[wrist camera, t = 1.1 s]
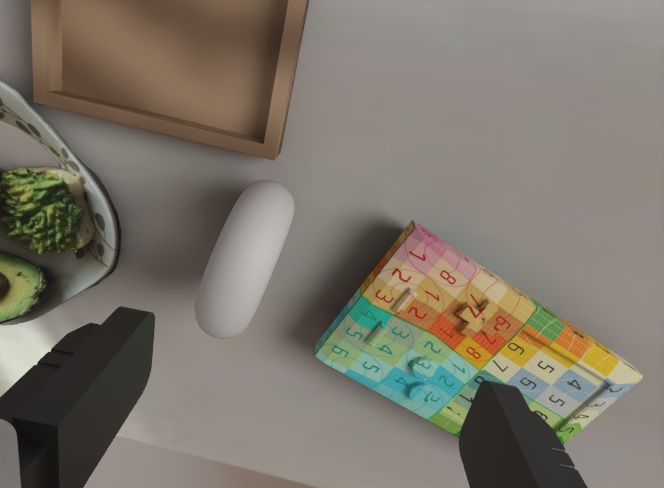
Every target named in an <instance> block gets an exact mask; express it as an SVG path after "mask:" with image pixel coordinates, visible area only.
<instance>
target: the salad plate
mask: <svg viewBox="0 0 664 488" xmlns="http://www.w3.org/2000/svg"><path fill="white" fill-rule="evenodd" d="M0 120H1V121H4V122H5V123H8V124H10V125H13V126H15V127H17V128H19V129H20V130H22V131H23V132H25V133H26V134H28V135H29V136H31V137H32V138H34V139H35V140H36V141H38V142H39V143H40V144H41V145H42V146H43V147H44V148H45V149H46V150H47V151H48V152H49V153H50V154H51V156H52V157H53V158H54V159H55V160H56V161H57V162H58V163H59V165H60V166H61V168H60V169H58V168H55V167H36V168H19V169H16V170H12V171H6V170H3V169H1V168H0V325H14V324H18V323H23V322H27V321H30V320H33V319H35V318H37V317H39V316H42V315H44V314H45V313H47V312H49V311H50V310H52V309H54V308H55V307H57V306H59V305H60V304H62V303H64V302H66V301H67V300H69V299H70V298H72V297H74V296H76V295H77V294H79V293H80V292H82V291H84V290H86V289H88V288H90V287H92V286H95V285H97V284H98V283H99V282H101V281H102V280H103V279H104V278H106V277H107V276H109V275H110V274H111V273H112V272H113V271H114V270H115V268H116V266H117V264H118V260H119V254H120V244H121V230H120V224H119V218H118V215H117V212H116V210H115V208H114V206H113V204H112V201H111V199H110V197H109V194H108V192H107V190H106V189H105V187H104V185H103V184H102V182H101V181H100V179H99V178H98V177H97V175H96V174H95V173H94V172H93V171H92V170H90V169H89V168H88V167H87V166H85V165H84V164H83V163H82V162H81V161H80V159H79V158H78V157H77V156H76V154H75V153H74V152H73V151H72V150H71V149H70V147H69V146H68V144H67V143H66V142H65V141H64V139H63V138H62V137H61V136H60V134H59V133H58V131H57V130H56V129H55V128H54V127H53V126H52V125H51V124H50V123H49V122H48V121H47V120H46V119H45V118H44V117H43V116H42V115H41V114H40V113H39V112H38V111H37V110H36V109H35V108H34V107H32V106H31V105H30V104H29V103H28V102H27V101H26V99H25V98H24V97H23V95H22V94H21V93H20V92H19V91H18V90H17V89H15V88H14V87H12V86H11V85H9V84H8V83H6V82H4V81H2V80H0ZM77 249H78V250H77ZM75 250H77V252H76V253H75Z"/></svg>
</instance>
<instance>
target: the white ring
mask: <svg viewBox="0 0 664 488" xmlns="http://www.w3.org/2000/svg"><path fill="white" fill-rule="evenodd" d="M294 211H295V208H294V200H293V198H292V195H291V193H290V192H289V191H288V190H287V188H286V187H285V186H283V185H281V184H280V183H278V182H275V181H271V180H260V181H258V182H255V183H253V184H251V185H250V186H249V187H248V188H247V189H245V190H244V191H243V192H242V194H241V195H240V197H239V198H238V200H237V202H236V203H235V205H234V207H233V209H232V211H231V213H230V215H229V216H228V218H227V220H226V222H225V225H224V227H223V229H222V231H221V233H220V235H219V237H218V240H217V242H216V245H215V247H214V249H213V252H212V254H211V256H210V259H209V262H208V264H207V267H206V269H205V272H204V275H203V278H202V281H201V284H200V287H199V290H198V293H197V297H196V301H195V317H196V320H197V322H198V325H199V327H200V328H201V329H202V330H203V331H204V332H205V333H206V334H208V335H210V336H212V337H214V338H220V339H226V338H232V337H234V336H236V335H238V334H240V333H241V332H242V331H243V330H244V329H246V328H247V326H248V324H249V323H250V321H251V319H252V318H253V316H254V314H255V311H256V309H257V307H258V305H259V303H260V300H261V298H262V296H263V294H264V291H265V289H266V287H267V284H268V282H269V279H270V277H271V275H272V272H273V270H274V267H275V265H276V262H277V260H278V257H279V255H280V252H281V250H282V247H283V245H284V242H285V239H286V237H287V234H288V231H289V229H290V226H291V223H292V219H293V215H294Z"/></svg>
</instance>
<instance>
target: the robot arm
mask: <svg viewBox="0 0 664 488" xmlns="http://www.w3.org/2000/svg"><path fill="white" fill-rule="evenodd" d="M154 327H155V316H154V313H152V312H147V311H142V310H137V309H132V308H127V307H122V306H121V307H118V308H117V309H116V310H115V311H114V312H113V313H112V314H111V315H110V316H109V317H108V318H107V319H106V320H105V321H104V322H103V323H102V325H99V324H94V323H89V324H87V325H85V326H83V327H80V328H78V329H76V330H74V331H72V332H70V333H68V334H67V335H66V336H65V337H64V338H62V339H61V340H60V341H59V342H58V343H57V344H56V345H55V346H54V347H53V348H52V349H51V352H48V353H47V354H46V355H45V356H44V357H42V358H41V359H40V360H39V361H38V364H37V365H34V366H33V367H32V368H31V369H30V370H29V371H28V372H27V373H26V374H25V375H23V376H22V377H21V378H20V379H19V380H18V381H17V382H16V383H15V384H14V385H13V386H12V387H11V388H10V389H9V390H8V391H7V392H6V393H5V394H3V395H2V396H1V397H0V488H83V487H84V485H85V484H86V482H87V481H88V479H89V477H90V476H91V474H92V472H93V471H94V469H95V468H96V466H97V465H98V463H99V461H100V460H101V458H102V457H103V455H104V454H105V452H106V450H107V448H108V447H109V445H110V444H111V442H112V441H113V439H114V438H115V436H116V434H117V433H118V431H119V430H120V428H121V426H122V425H123V423H124V422H125V420H126V419H127V417H128V415H129V414H130V412H131V411H132V409H133V407H134V406H135V404H136V403H137V401H138V399H139V398H140V396H141V395H142V393H143V391H144V389H145V387H146V385H147V382H148V379H149V376H150V372H151V366H152V353H153V340H154ZM459 450H460V455H461V459H462V462H463V465H464V469H465V472H466V476H467V479H468V482H469V486H470V488H587V486H586V484H585V483H584V481H583V479H582V477H581V476H580V474H579V472H578V471H577V470H575V465H574V464H573V462H572V460H571V458H570V457H569V455H568V454H567V453H565V448H564V446H563V445H562V443H561V441H560V439H559V438H558V436H557V434H556V433H555V431H554V430H553V429H552V427H551V426H550V425H549V424H548V423H547V422H546V421H545V420H544V419H543V418H542V417H541V416H540V415H539V414H538V413H537V412H534V411H531V410H530V408H529V406H528V404H527V403H526V401H525V399H524V397H523V395H522V393H521V392H520V390H519V389H518V388H517V387H516V386H512V385H507V384H502V383H497V382H492V381H487V380H485V381H483V382H482V383H481V384H480V385H479V387H478V390H477V392H476V394H475V397H474V399H473V401H472V404H471V406H470V408H469V411H468V413H467V415H466V418H465V420H464V423H463V425H462V428H461V431H460V437H459Z"/></svg>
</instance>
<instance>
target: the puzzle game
mask: <svg viewBox="0 0 664 488" xmlns="http://www.w3.org/2000/svg"><path fill="white" fill-rule="evenodd" d="M314 356H315V357H317V358H318V359H319V360H321V361H322V362H323V363H325V364H327V365H328V366H330V367H332V368H334V369H336V370H338V371H339V372H341V373H343V374H345V375H347V376H348V377H350V378H352V379H354V380H356V381H358V382H359V383H361V384H363V385H365V386H367V387H368V388H370V389H372V390H374V391H376V392H377V393H379V394H381V395H383V396H385V397H387V398H388V399H390V400H392V401H394V402H396V403H397V404H399V405H401V406H403V407H405V408H406V409H408V410H410V411H412V412H414V413H416V414H417V415H419V416H421V417H423V418H425V419H426V420H428V421H430V422H432V423H434V424H436V425H437V426H439V427H441V428H443V429H445V430H446V431H448V432H450V433H452V434H454V435H455V436H457V437H460V431H461V428H462V425H463V423H464V420H465V418H466V415H467V413H468V411H469V408H470V406H471V404H472V401H473V399H474V397H475V394H476V392H477V390H478V387H479V385H480V384H481V383H482V382H483V381H485V380H487V381H492V382H497V383H502V384H507V385H512V386H516V387H517V388H518V389H519V390H520V392H521V393H522V395H523V397H524V399H525V401H526V403H527V404H528V406H529V408H530V410H531V411H534V412H537V413H538V414H539V415H540V416H541V417H542V418H543V419H544V420H545V421H546V422H547V423H548V424H549V425H550V426H551V427H552V429H553V430H554V431H555V433H556V434H557V436H558V438H559V439H560V441H561V443H562V445H564V444H565V443H566V442H567V441H568V440H570V439H571V438H572V437H573V436H574V435H575V434H577V433H578V432H579V431H580V430H581V429H583V428H584V427H585V426H586V425H587V424H589V423H590V422H591V421H592V420H593V419H594V418H596V417H597V416H598V415H599V414H600V413H602V412H603V411H604V410H605V409H606V408H608V407H609V406H610V405H611V404H612V403H613V402H615V401H616V400H617V399H618V398H619V397H621V396H622V395H623V394H624V393H625V392H627V391H628V390H629V389H630V388H631V387H633V386H634V385H635V384H636V383H637V382H638V381H640V380H641V379H642V378H643V377H644V376H643V375H642V374H641V373H640V372H639V371H638V370H637V369H636V368H635V367H634V366H633V365H631V364H630V363H629V362H627V361H626V360H624V359H623V358H621V357H620V356H618V355H617V354H615V353H614V352H612V351H611V350H609V349H608V348H606V347H605V346H603V345H601V344H600V343H598V342H597V341H595V340H594V339H592V338H591V337H589V336H588V335H586V334H585V333H583V332H582V331H580V330H579V329H577V328H576V327H574V326H573V325H571V324H570V323H568V322H566V321H565V320H563V319H562V318H560V317H559V316H557V315H556V314H554V313H553V312H551V311H550V310H548V309H547V308H545V307H544V306H542V305H541V304H539V303H538V302H536V301H535V300H533V299H532V298H530V297H528V296H527V295H525V294H524V293H522V292H521V291H519V290H518V289H516V288H515V287H513V286H512V285H510V284H509V283H507V282H506V281H504V280H503V279H501V278H500V277H498V276H497V275H495V274H493V273H492V272H490V271H489V270H487V269H486V268H484V267H483V266H481V265H480V264H478V263H477V262H475V261H474V260H472V259H471V258H469V257H468V256H466V255H465V254H463V253H462V252H460V251H459V250H457V249H455V248H454V247H452V246H451V245H449V244H448V243H446V242H445V241H443V240H442V239H440V238H439V237H437V236H436V235H434V234H433V233H431V232H430V231H428V230H427V229H425V228H424V227H422V226H420V225H419V224H417V223H416V222H414V221H413V220H412V221H411V222H410V224H409V225H408V226H407V227H406V229H405V230H404V231H403V233H402V234H401V235H400V236H399V238H398V239H397V240H396V242H395V243H394V244H393V245H392V247H391V248H390V249H389V251H388V252H387V253H386V254H385V256H384V257H383V258H382V260H381V261H380V262H379V263H378V265H377V266H376V267H375V269H374V270H373V271H372V272H371V274H370V275H369V276H368V278H367V279H366V280H365V281H364V283H363V284H362V285H361V287H360V288H359V289H358V290H357V292H356V293H355V294H354V296H353V297H352V298H351V299H350V301H349V302H348V303H347V305H346V306H345V307H344V308H343V310H342V311H341V312H340V314H339V315H338V316H337V317H336V319H335V320H334V321H333V323H332V324H331V325H330V327H329V328H328V329H327V330H326V332H325V333H324V334H323V336H322V337H321V338H320V339H319V341H318V342H317V343H316V345H315V349H314Z"/></svg>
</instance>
